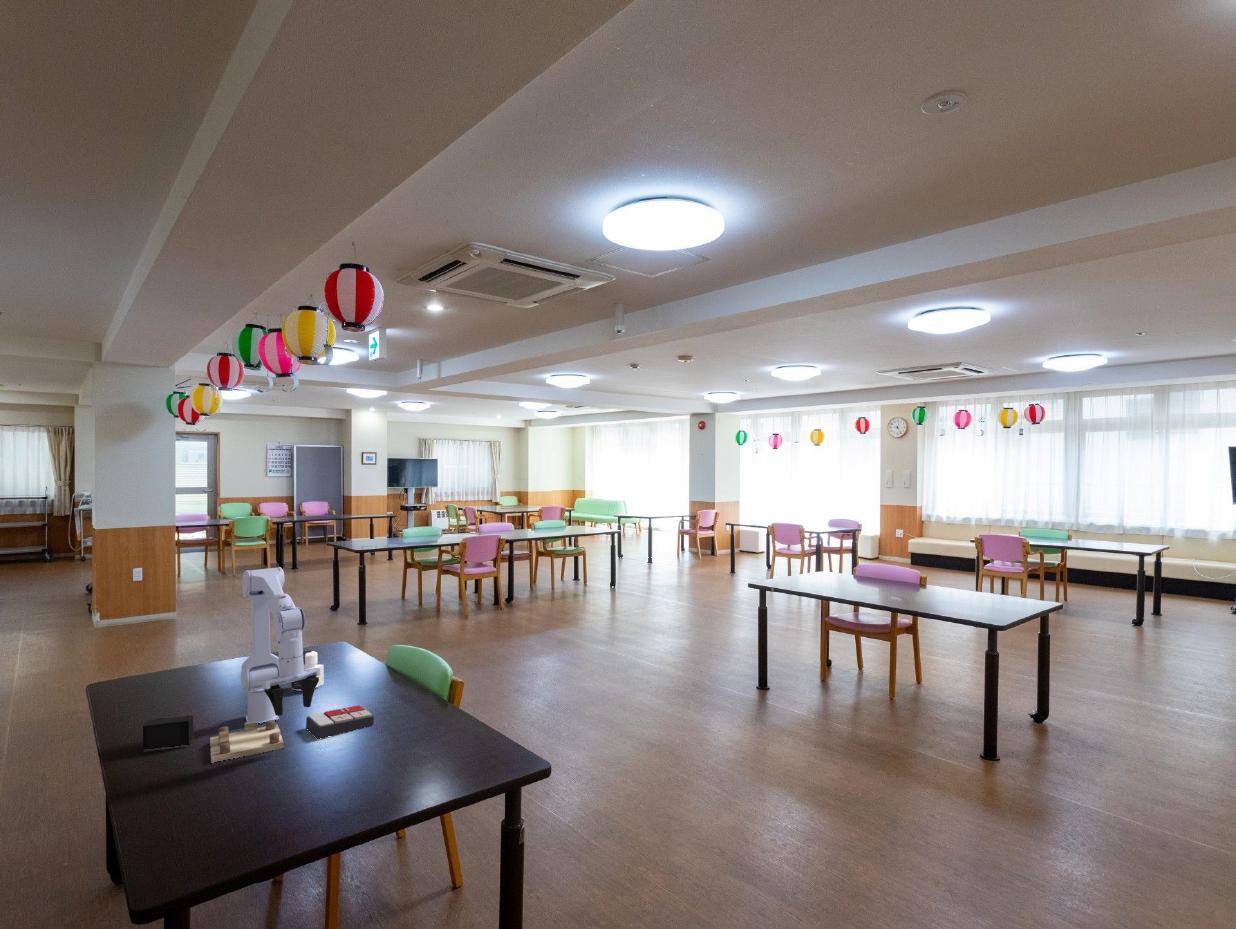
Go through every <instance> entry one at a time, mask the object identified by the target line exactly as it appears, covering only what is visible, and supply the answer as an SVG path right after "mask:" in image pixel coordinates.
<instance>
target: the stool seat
mask: <svg viewBox="0 0 1236 929" xmlns="http://www.w3.org/2000/svg"><path fill="white" fill-rule="evenodd" d="M258 725H259V724H258V723H257V721H254V722H249V723H247V722H244V730H242V731H236V732H231V733H228V734H229V743H223V744H221V745H220V742H219V735H216V736H211V737H210V738H209V739H210V740H209V743H210V744H209V745H210V747H211V748H210V763H212V764H215V763H214V762H217V761H221V762H224V761H223V760H226V761H228V760H227V759H231V760H234V759H233V758H235V759H239V757H240V758H243V756H245V757H249V756H254V755H258V754H259V755H260V754H262V753H263V752H264V753H268V752H272V750H273V751H278V750H283V749H284V748H285V747H284V743H285V742H284V740H283V736H282V733H281V730H280V728H279V724H277V723H276V721H275V720H269V721H266V722H265V726H262V727H258ZM282 748H283V749H282ZM217 763H218V762H217Z"/></svg>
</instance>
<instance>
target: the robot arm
mask: <svg viewBox="0 0 1236 929" xmlns="http://www.w3.org/2000/svg"><path fill="white" fill-rule="evenodd" d="M285 581H286V580H285V572H284V569H283V568H282V567H281V566H276V567H271V568H270V567H269V568H261V569H249V570H248V569H247V570H244V572H243V573H242V579H241V582H242V584H241V585H242V587H241V588H242V595H243V596H242V597H243V598H245V599H249V603H250V615H251V616H250V618H251V619H250V620H251V650H252V651H251V652H252V654H251V655H250V656H249V657H248V658H246V660H244V661H243V662H242V665H241V672H240V684H241V688H242V690H244V691H246V692H247V713H246V714H247V715H246V714H245V716H246V717H245V716H244V717H245V720H246V721H247V722H246V723H249V722H254V721H257V723H260V724H264V723H263V722H265V723H266V721H269V720H276V721H279V720H280V718H279V717H280V716H283V714H284V713H283V712H284V709H283V708H284V707H283V700H284V699H283V697H284V693H285V688H284V687H281V686H282V685H286V684H290V683H291V682H294V681H298V680H300V683H301V687H302V692H301V693H302V704H303V707H304V708H310V707H311V706H312V701H313V696H314V693H315V691H316V690H315V688H316V686H317V684H318V682H319V677H316V676H319V675H320V668H312V669H307V670H304V664H303V652H304V648H303V631H304V630H305V627H306V618H305V612H304V610H303V608H302V607H299V606H296V605H295V603H294V601H293V599H292V598H291V596H290V595H289V594H288V593H285V592H284V590H283V587H284V585H285ZM270 613H271V616H272V618H273V629H274V632H275V639H276V642H277V651H278V652H277V653H278V655H275V654H273V653H271V629H270V627H271V623H270V622H271V621H270ZM278 719H279V720H278Z"/></svg>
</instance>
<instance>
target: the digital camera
mask: <svg viewBox="0 0 1236 929" xmlns="http://www.w3.org/2000/svg"><path fill="white" fill-rule="evenodd" d="M194 738H195V737H194V714H193V715H184V716H175V717H159V718H157V719H149V720H148V721H147V722H146V723H144V724H143V725H142V750H143V749H154V748H161V747H175V746H181V745H189V744H190V743H191V741H192V740H193V739H194Z"/></svg>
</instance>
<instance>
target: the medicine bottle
mask: <svg viewBox="0 0 1236 929" xmlns="http://www.w3.org/2000/svg"><path fill="white" fill-rule="evenodd" d="M318 663H319V662H318V652H317V651H315V650H305V651H304V650H303V664H304V670H307V669H312V668H320V675H319V676H316V677H319V682H318V684H317V686H316V687H318V686H320V685H323V684H324V685H325V668H324V667H325V666H324V664H320V663H319V664H318ZM290 683H291V685H290V686H291V688H292V689H301V690H302V687H301V683H300V680H298V681H294V682H290Z"/></svg>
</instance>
